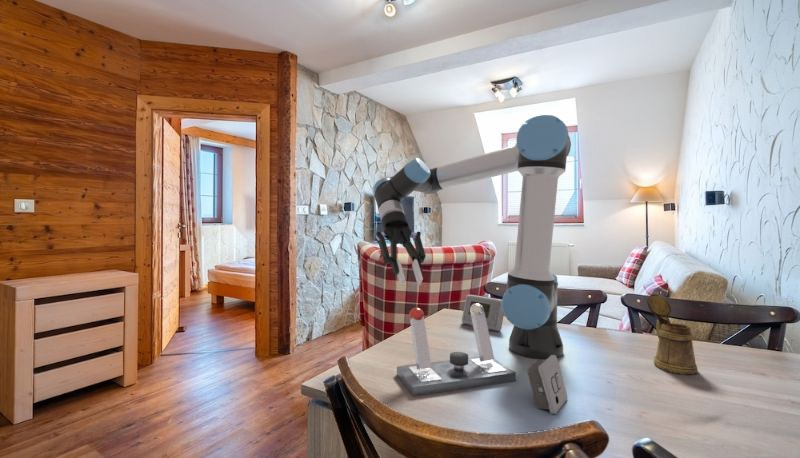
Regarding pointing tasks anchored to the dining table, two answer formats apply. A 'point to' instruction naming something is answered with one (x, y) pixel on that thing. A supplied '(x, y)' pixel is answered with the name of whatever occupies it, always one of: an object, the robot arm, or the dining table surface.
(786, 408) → the dining table surface
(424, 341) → the red knob lever
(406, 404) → the dining table surface
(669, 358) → the wooden mug
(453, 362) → the black button
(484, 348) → the ivory knob lever
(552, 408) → the electrical switch
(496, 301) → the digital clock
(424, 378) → the console
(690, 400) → the dining table surface
